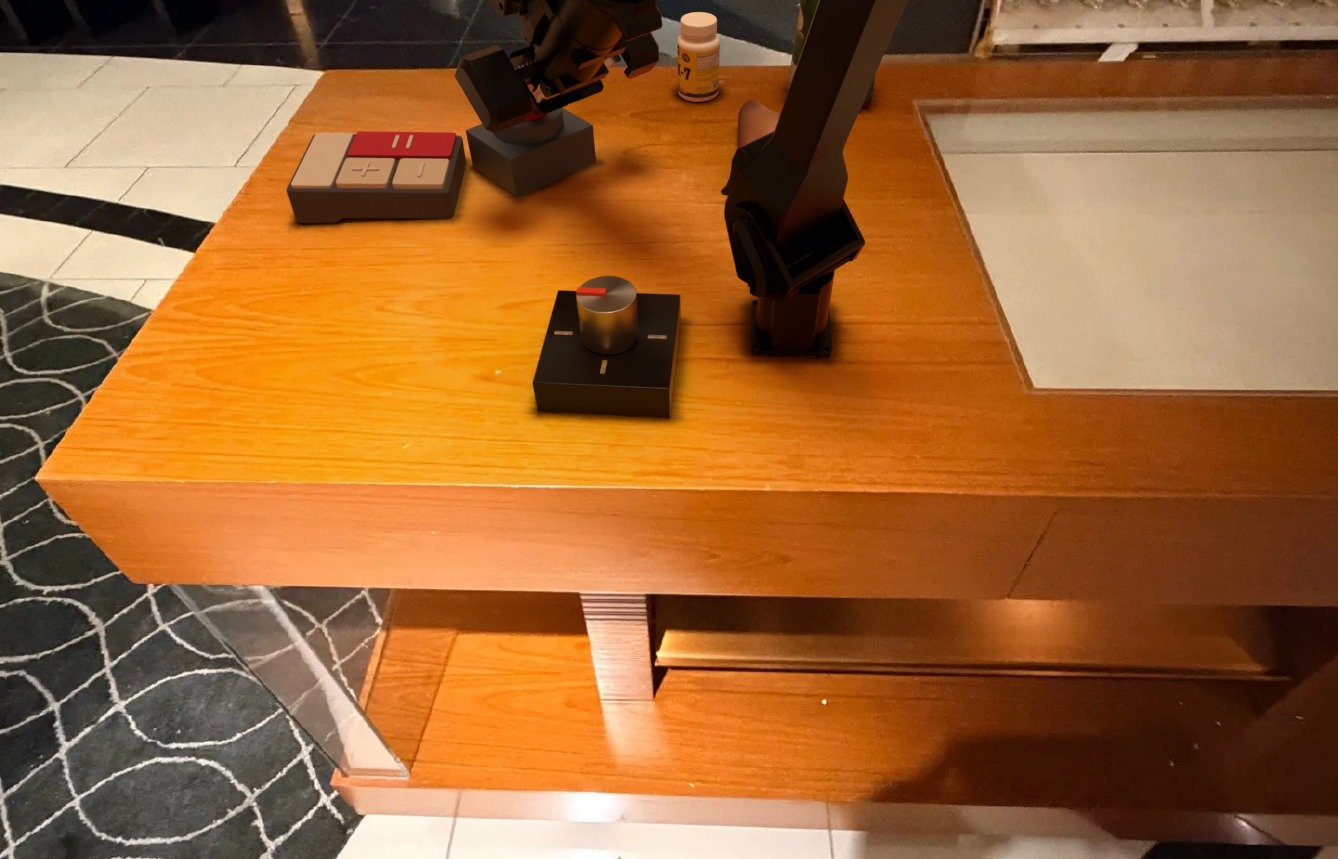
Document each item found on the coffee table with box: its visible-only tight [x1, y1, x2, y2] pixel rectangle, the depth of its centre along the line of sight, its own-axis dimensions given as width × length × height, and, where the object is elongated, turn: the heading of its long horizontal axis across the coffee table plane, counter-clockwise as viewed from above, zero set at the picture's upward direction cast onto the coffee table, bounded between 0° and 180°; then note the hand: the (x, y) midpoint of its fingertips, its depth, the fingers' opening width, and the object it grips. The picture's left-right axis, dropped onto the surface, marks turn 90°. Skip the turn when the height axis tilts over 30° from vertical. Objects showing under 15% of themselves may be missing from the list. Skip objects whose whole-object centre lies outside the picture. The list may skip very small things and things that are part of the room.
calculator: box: [285, 130, 467, 224], centre depth 85 cm, size 11×4×15 cm
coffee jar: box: [787, 0, 876, 106], centre depth 92 cm, size 10×8×19 cm
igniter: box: [465, 107, 597, 199], centre depth 87 cm, size 8×10×6 cm
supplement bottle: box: [676, 11, 721, 103], centre depth 96 cm, size 5×5×8 cm
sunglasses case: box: [737, 99, 781, 148], centre depth 86 cm, size 18×7×7 cm
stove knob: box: [575, 275, 639, 355], centre depth 64 cm, size 4×4×4 cm
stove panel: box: [532, 289, 682, 418], centre depth 67 cm, size 11×10×3 cm
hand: (535, 109), depth 83 cm, fingers closed, pressing on ignite button
